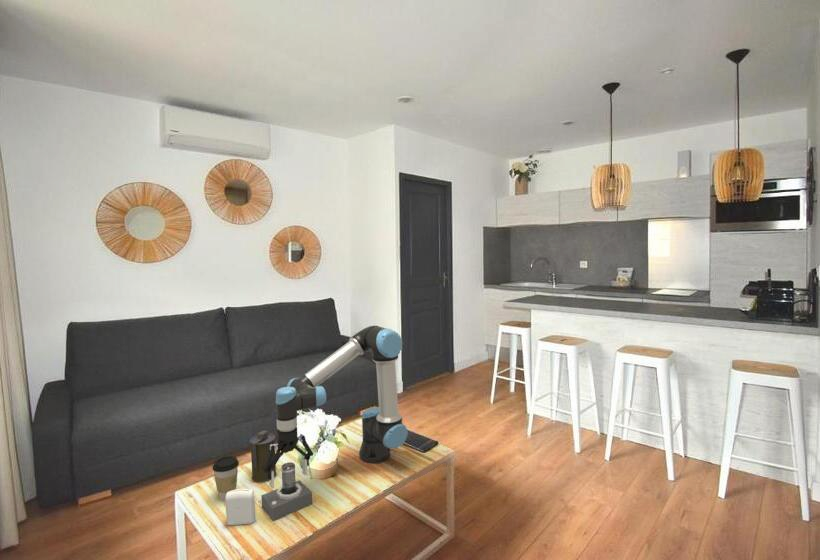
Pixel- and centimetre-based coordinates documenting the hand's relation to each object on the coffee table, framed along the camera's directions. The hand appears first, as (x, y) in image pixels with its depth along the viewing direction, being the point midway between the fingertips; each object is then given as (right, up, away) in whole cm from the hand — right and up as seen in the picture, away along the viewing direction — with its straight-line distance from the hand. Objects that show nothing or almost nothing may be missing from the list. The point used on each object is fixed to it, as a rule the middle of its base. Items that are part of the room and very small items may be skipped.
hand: (288, 480), depth 164 cm
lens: (0, -5, 0) cm, 5 cm away
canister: (-17, -9, +21) cm, 29 cm away
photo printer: (-15, -11, -9) cm, 21 cm away
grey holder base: (0, -10, +1) cm, 10 cm away
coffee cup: (-27, -10, +7) cm, 30 cm away
